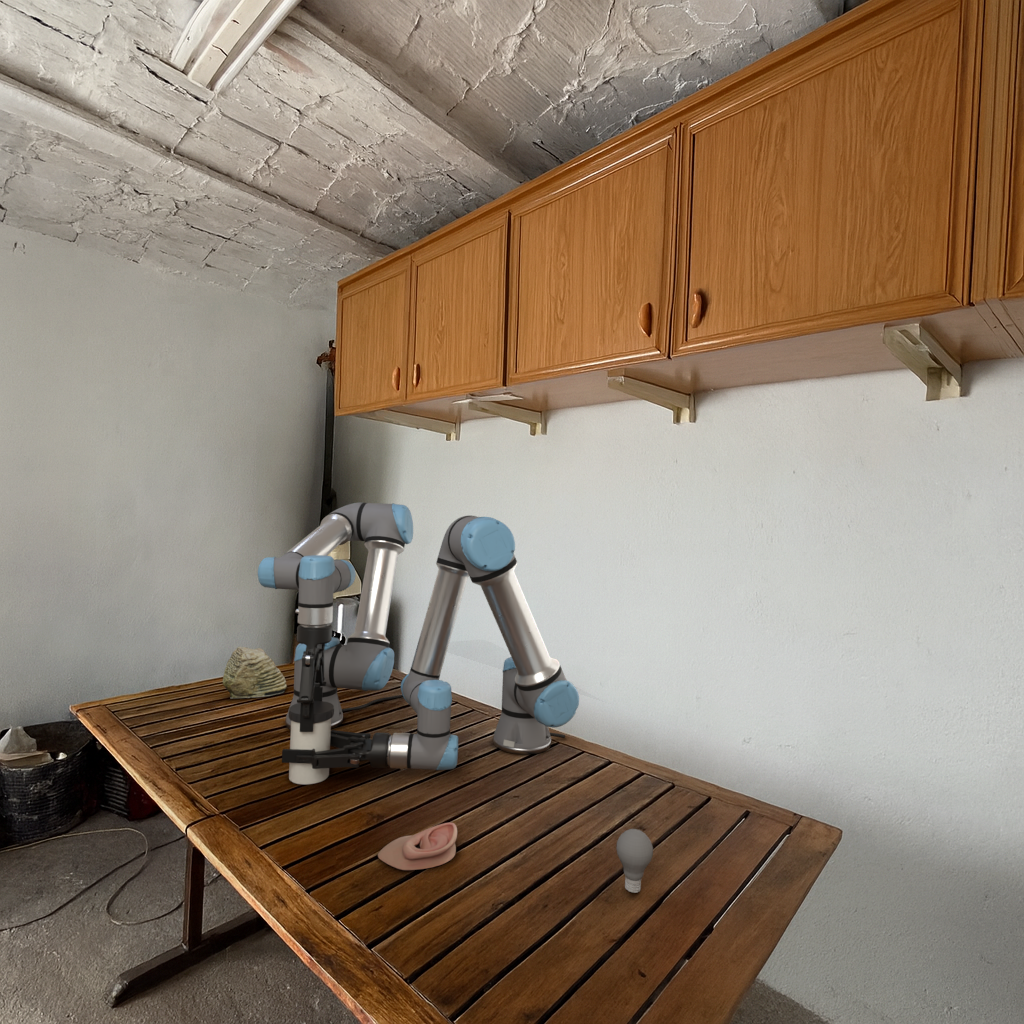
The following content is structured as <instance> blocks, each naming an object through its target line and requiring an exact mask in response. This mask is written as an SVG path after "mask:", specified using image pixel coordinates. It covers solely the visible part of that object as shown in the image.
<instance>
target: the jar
mask: <svg viewBox="0 0 1024 1024" xmlns="http://www.w3.org/2000/svg"><path fill="white" fill-rule="evenodd" d="M331 730H332V729H331V719H329V720H326V721H323V722H318V723H313V732H300V723H297V722H294V721H291V729H290V740H289V749H301V750H312V749H315V752H318V751H325V750H331V746H330V735H331ZM288 765H289V766H288V767H289V768H288V779H289V781H290V782H292V783H293V784H297V785H313V784H318V783H321V782H323V781H325V780H326V779H328V778H329V776H330V768H321V769H313V768H312V763H288Z"/></svg>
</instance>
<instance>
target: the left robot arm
mask: <svg viewBox="0 0 1024 1024" xmlns="http://www.w3.org/2000/svg"><path fill="white" fill-rule="evenodd" d="M413 539H414V522H413V516H412V513H411V509H410V508H409V507H408V506H407V505H405V504H400V503H399V504H398V503H384V502H383V503H382V502H362V501H361V502H354V503H348V504H346V505H344V506H340V507H339V508H337V509H335V510H333V511H331V512H330V513H328V514H327V515H325V517H323V519H322V520H321V521H320V524H319V525H318V527H316V528H315V529H313V530H312V531H311V532H310V533H309V534H308V535H306V536H305V537H304V538H302V539H301V540H300V541H299V542H297V543H296V544H295V545H294V546H292V547H291V548H290V549H289V550H287V551H286V552H284V554H282V555H281V556H280V557H278V556H277V557H276V556H269V557H264V558H263V559H262V560H261V561H260V562H259V565H258V568H257V579H258V580H257V581H258V583H259V584H260V585H261V587H264V588H267V589H274V590H291V591H292V590H293V591H298V602H297V606H298V608H296V609H295V612H294V613H295V614H298V615H297V624H298V626H297V627H296V630H297V631H296V642H297V643H298V644H297V645H296V647H295V652H294V653H295V654H294V659H293V661H294V672H293V695H292V696H293V697H292V699H291V702H290V704H289V708H290V707H291V706H292V705H294V704H297V703H301V709H300V732H313V720H314V701H325V702H329V703H331V704H333V706H334V715H333V717H332V718H331V730H334V729H335V728H337V727H339V726H340V725H342V723H343V722H344V714H343V712H348V711H349V712H350V711H355V710H360V709H364V708H366V707H368V706H370V705H372V704H376V703H378V702H382V701H387V700H394V699H398V698H404V697H403V695H402V694H397V695H392V696H386V697H381V698H376V699H373V700H371V701H368V702H367V703H364V704H362V705H358V706H353V707H347V708H342V706H341V702H340V699H339V695H338V689H346V690H358V691H364V692H368V691H375V692H377V691H381V690H382V689H384V687H385V686H386V685H387V684H388V682H389V681H390V678H391V675H392V673H393V670H394V666H395V665H394V664H395V652H394V650H393V649H392V648H391V647H390V641H389V639H388V638H387V637H386V633H387V628H388V620H389V614H390V608H391V602H392V596H393V595H392V594H393V588H394V583H395V576H396V569H397V563H398V556H400V554H402V553H403V552H404V551H405V546H406V545H409V544H411V543H412V542H413ZM348 542H364V544H363V545H364V547H365V549H367V552H368V553H367V558H366V565H365V569H364V575H363V580H362V586H361V592H360V598H359V604H358V609H357V615H356V621H355V625H354V626H355V627H354V632H353V633H351V634H350V635H349V636H348V637H347V641H346V644H341V641H340V639H339V638H338V637H334V636H333V626H332V625H331V624H332V623H333V621H334V619H333V618H334V594H336V593H339V592H340V593H341V592H342V591H345V590H347V589H349V588H350V587H351V586H352V585H353V584H354V582H355V581H356V576H357V575H356V569H355V567H354V565H353V564H352V563H351V562H350V561H348V560H346V559H334V557H332V555H330V554H331V553H332V552H333V551H334V550H335V549H336V548H337V547H338V546H342V545H345V544H347V543H348ZM289 708H288V711H287V713H286V715H285V726H286V728H287V729H289V730H291V720H290V719H289Z"/></svg>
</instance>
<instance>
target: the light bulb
mask: <svg viewBox="0 0 1024 1024" xmlns="http://www.w3.org/2000/svg"><path fill="white" fill-rule="evenodd" d="M615 849H616V854H617V857H618V859H619V861H620V863H621V865H622V867H623V873H624V874H623V875H624V876H625V878H624V888H625V890H627V891H628V892H630V893H634V894H635V893H639V892H640V891H641V889H642V887H641V886H642V879H643V877H644V875H645V871H646V868H647V867H648V866H649V864H650V863H651V861H652V859H653V855H654V847H653V843H652V841H651V838H649V836H648V835H647V834H646V833H645V832H643V831H642V830H641V829H636V828H629V829H627V830H625V831H623V832H622V833H621V834H620V835H619V837H618V839H617V841H616V847H615Z"/></svg>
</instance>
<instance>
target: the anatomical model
mask: <svg viewBox="0 0 1024 1024" xmlns="http://www.w3.org/2000/svg"><path fill="white" fill-rule="evenodd" d="M457 840H458V827H457V825H456V823H454V822H444V823H439V824H437V825H434V826H431V827H428V828H426V829H424V830H422V831H420V832H418V833H415V834H412V835H404V836H401V837H398V838H396V839H393V840H392V841H391V842H389V843H387V844H386V845H385V846H383V848H382V849H380V851H379V852H378V853H377V858H378V859H379V860H380V861H382V862H383V863H384V864H386V865H389V866H390V867H393V868H395V869H397V870H399V871H415V870H416V871H417V870H424V869H430V868H435V867H439V866H441V865H444V864H447V863H448V862H449V861H452V859H454V857H455V856H456V852H457V847H456V846H457V845H456V841H457Z"/></svg>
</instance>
